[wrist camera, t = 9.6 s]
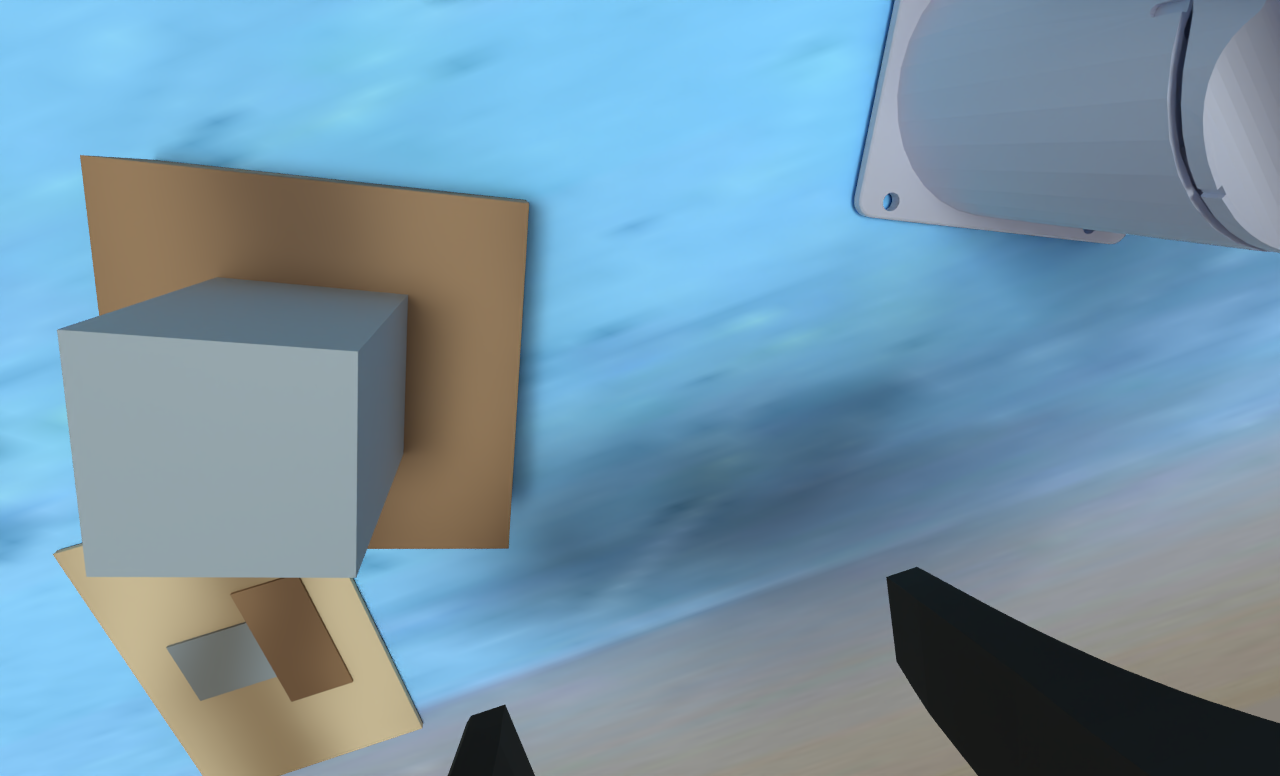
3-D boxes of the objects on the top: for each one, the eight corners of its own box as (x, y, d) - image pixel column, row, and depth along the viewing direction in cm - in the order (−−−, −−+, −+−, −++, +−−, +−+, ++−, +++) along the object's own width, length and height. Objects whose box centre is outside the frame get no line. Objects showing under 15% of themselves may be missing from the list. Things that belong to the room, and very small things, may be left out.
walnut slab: (525, 199, 18) (529, 203, 15) (508, 498, 21) (508, 548, 18) (154, 159, 16) (80, 155, 13) (184, 494, 19) (127, 548, 16)
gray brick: (407, 294, 15) (357, 351, 10) (403, 454, 16) (355, 577, 11) (216, 277, 15) (57, 329, 9) (225, 446, 16) (85, 576, 10)
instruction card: (304, 478, 19) (301, 482, 19) (423, 723, 23) (421, 730, 23) (57, 550, 19) (50, 556, 18) (219, 790, 22) (215, 799, 22)
